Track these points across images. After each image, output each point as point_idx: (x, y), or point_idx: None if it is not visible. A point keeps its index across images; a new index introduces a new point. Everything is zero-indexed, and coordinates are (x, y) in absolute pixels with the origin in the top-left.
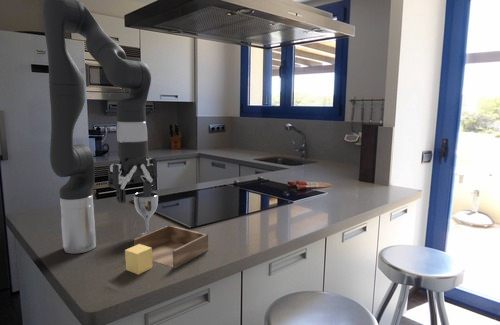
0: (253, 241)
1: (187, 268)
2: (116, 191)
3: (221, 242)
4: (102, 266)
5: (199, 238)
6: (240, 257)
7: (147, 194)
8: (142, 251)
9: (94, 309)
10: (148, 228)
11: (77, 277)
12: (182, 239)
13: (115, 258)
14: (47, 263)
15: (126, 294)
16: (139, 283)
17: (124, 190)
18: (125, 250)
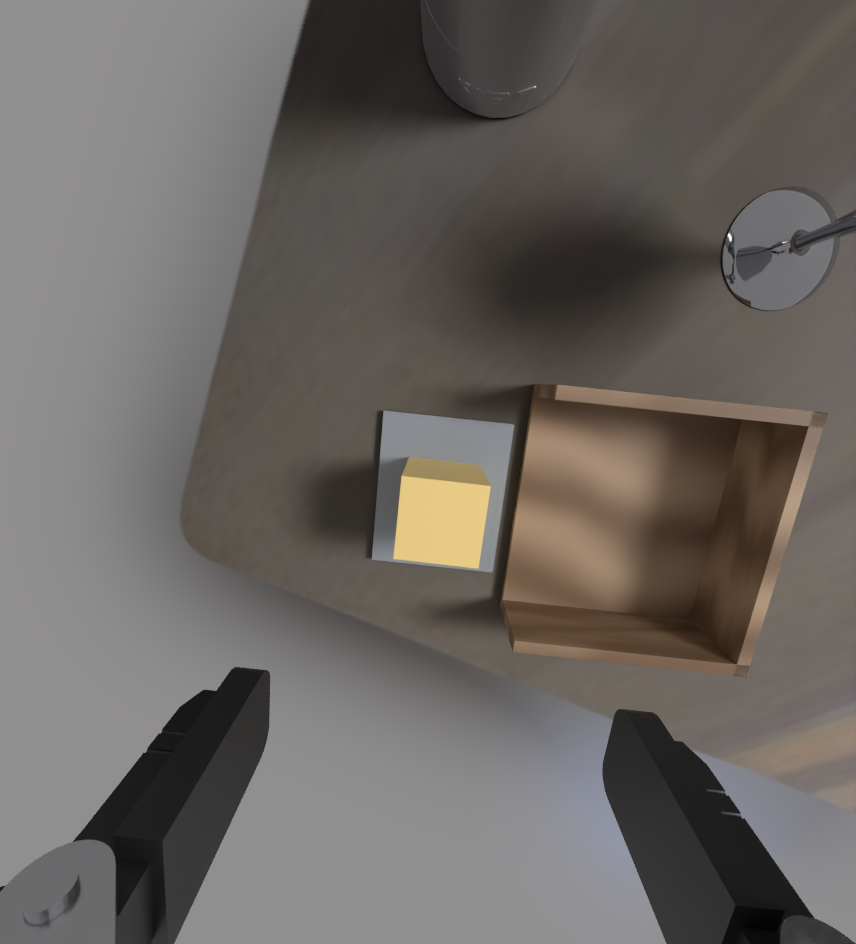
0: (853, 730)
1: None
2: (100, 814)
3: (804, 626)
4: (400, 330)
5: (687, 666)
6: None
7: (611, 774)
8: (425, 559)
9: (191, 545)
10: (820, 241)
11: (286, 318)
12: (736, 508)
13: (483, 318)
14: (299, 50)
15: (296, 568)
16: (368, 557)
17: (164, 927)
18: (402, 478)
